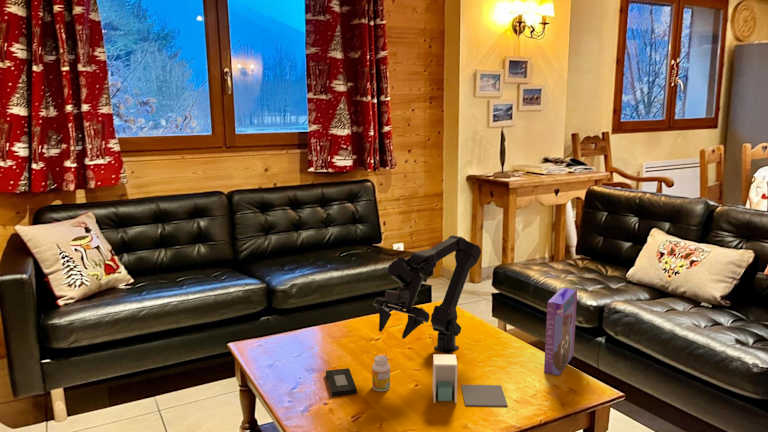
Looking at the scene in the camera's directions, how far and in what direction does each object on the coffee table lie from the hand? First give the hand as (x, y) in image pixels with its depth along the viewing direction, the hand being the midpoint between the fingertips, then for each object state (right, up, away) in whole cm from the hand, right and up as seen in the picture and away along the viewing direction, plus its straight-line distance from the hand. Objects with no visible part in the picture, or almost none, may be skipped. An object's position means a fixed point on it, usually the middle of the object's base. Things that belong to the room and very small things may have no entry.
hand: (391, 334), depth 183 cm
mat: (+27, -16, -9) cm, 33 cm away
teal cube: (+16, -17, -10) cm, 25 cm away
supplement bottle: (-3, -16, -4) cm, 16 cm away
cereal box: (+56, -12, +11) cm, 58 cm away
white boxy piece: (+16, -16, -10) cm, 25 cm away
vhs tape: (-16, -16, -1) cm, 22 cm away
